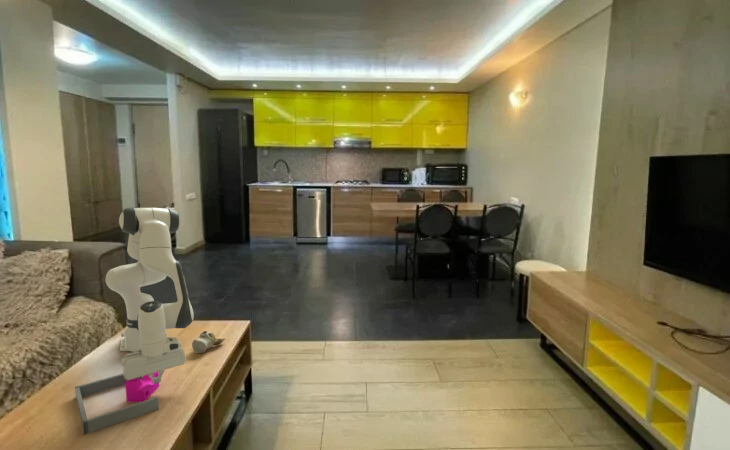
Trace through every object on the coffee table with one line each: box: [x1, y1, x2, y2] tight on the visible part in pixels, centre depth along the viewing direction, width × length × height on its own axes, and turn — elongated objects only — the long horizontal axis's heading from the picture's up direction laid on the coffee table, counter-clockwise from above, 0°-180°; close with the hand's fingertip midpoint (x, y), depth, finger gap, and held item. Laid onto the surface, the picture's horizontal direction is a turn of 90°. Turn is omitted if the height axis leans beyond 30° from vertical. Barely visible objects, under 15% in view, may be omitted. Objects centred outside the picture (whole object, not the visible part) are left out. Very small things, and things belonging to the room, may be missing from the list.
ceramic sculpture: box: [191, 330, 226, 354], centre depth 185 cm, size 11×9×15 cm
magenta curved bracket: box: [124, 372, 160, 403], centre depth 151 cm, size 15×6×8 cm, turn 179°
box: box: [74, 373, 160, 435], centre depth 143 cm, size 26×21×4 cm
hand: (156, 382), depth 150 cm, fingers closed
